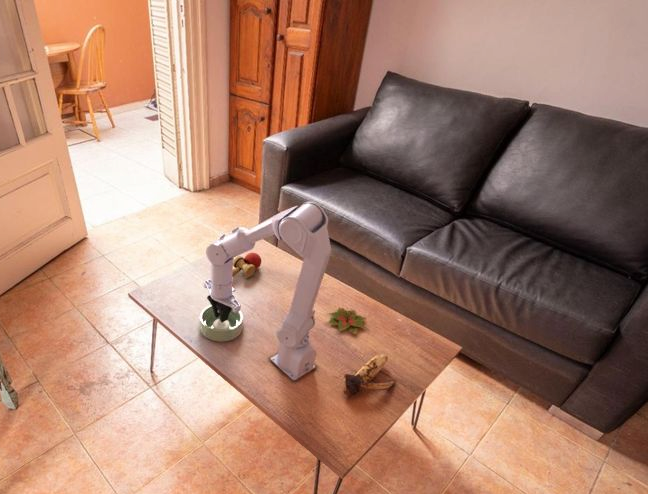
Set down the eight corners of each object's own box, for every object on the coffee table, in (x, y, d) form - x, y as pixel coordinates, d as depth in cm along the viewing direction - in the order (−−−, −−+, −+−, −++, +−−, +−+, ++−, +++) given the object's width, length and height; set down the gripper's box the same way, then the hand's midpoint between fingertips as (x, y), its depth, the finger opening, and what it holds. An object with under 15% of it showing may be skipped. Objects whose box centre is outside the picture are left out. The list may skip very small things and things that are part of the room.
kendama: (229, 294, 140) (268, 267, 147) (225, 278, 136) (265, 252, 143) (214, 286, 145) (253, 261, 153) (210, 271, 141) (249, 246, 149)
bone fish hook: (365, 413, 103) (404, 374, 112) (370, 402, 100) (409, 362, 109) (334, 390, 108) (373, 354, 117) (338, 378, 105) (378, 342, 114)
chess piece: (227, 332, 122) (228, 305, 116) (211, 330, 123) (210, 302, 117) (231, 321, 126) (231, 294, 120) (215, 319, 127) (214, 292, 120)
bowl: (250, 331, 124) (251, 319, 121) (216, 348, 119) (216, 337, 116) (225, 309, 132) (225, 298, 129) (192, 325, 126) (191, 313, 123)
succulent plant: (372, 319, 129) (376, 307, 126) (358, 341, 122) (361, 329, 119) (335, 304, 134) (338, 293, 131) (319, 325, 127) (322, 313, 124)
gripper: (250, 287, 111) (248, 326, 120) (217, 262, 120) (217, 300, 129) (229, 297, 108) (228, 336, 117) (196, 270, 117) (198, 309, 126)
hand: (221, 318), depth 123 cm, fingers closed on chess piece
